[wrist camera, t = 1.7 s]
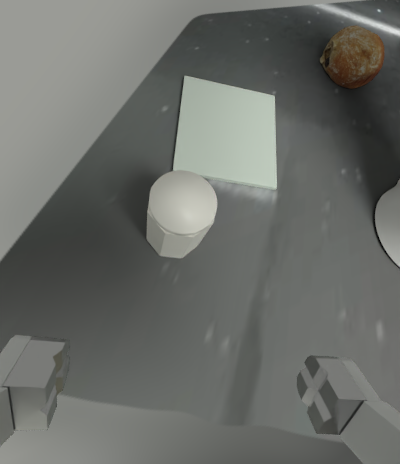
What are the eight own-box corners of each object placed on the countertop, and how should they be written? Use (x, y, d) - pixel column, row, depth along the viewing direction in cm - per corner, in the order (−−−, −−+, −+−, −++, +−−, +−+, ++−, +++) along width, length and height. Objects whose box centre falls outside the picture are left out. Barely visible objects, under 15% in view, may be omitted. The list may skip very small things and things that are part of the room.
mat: (272, 98, 42) (274, 95, 42) (274, 190, 37) (276, 187, 36) (184, 78, 40) (184, 75, 39) (172, 172, 35) (172, 170, 34)
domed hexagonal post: (200, 213, 34) (218, 176, 25) (196, 260, 32) (215, 237, 23) (151, 206, 33) (154, 165, 24) (144, 254, 31) (144, 227, 22)
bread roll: (309, 64, 52) (316, 25, 45) (365, 44, 50) (382, -1, 43) (326, 106, 49) (337, 71, 42) (386, 86, 48) (409, 46, 40)
